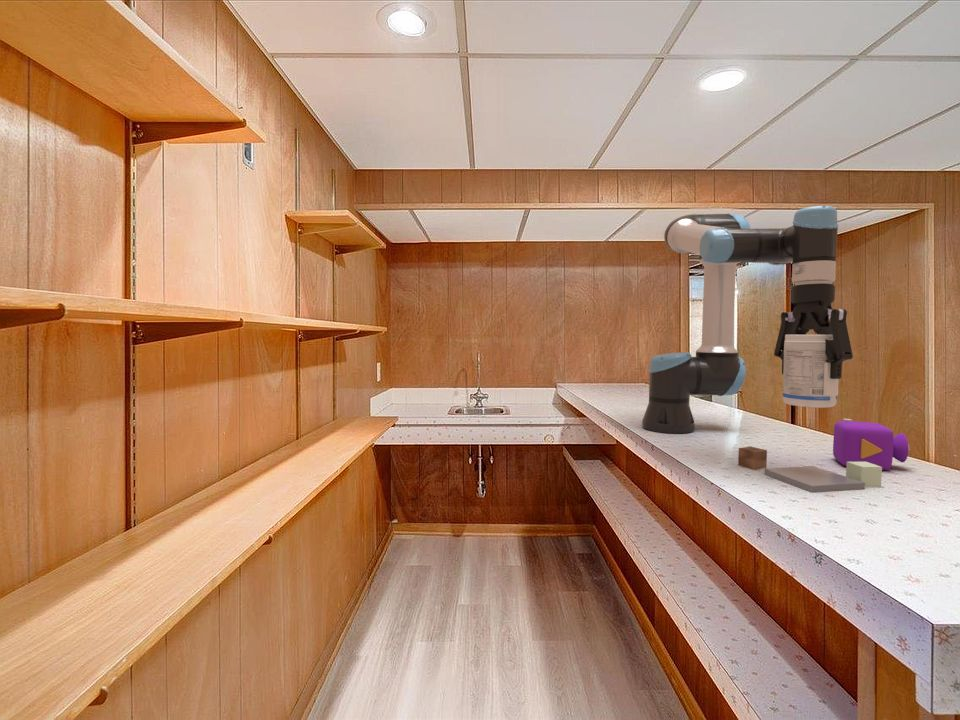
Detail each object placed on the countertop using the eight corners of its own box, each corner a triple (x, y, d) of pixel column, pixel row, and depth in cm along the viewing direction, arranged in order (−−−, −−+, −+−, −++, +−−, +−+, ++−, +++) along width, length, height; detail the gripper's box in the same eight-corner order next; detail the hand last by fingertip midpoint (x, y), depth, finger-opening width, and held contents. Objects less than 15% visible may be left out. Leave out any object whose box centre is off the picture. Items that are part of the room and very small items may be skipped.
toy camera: (919, 474, 108) (922, 428, 107) (847, 470, 111) (849, 425, 110) (889, 461, 119) (891, 419, 118) (824, 458, 121) (826, 416, 121)
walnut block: (738, 465, 114) (738, 448, 114) (749, 463, 116) (750, 446, 116) (754, 470, 111) (755, 452, 110) (766, 467, 112) (767, 450, 112)
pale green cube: (845, 480, 103) (846, 461, 103) (865, 480, 103) (866, 461, 103) (860, 487, 99) (861, 466, 99) (880, 487, 99) (882, 467, 99)
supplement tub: (796, 401, 112) (798, 334, 111) (845, 406, 104) (848, 334, 103) (772, 403, 106) (775, 334, 106) (822, 409, 98) (825, 334, 98)
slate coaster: (764, 474, 107) (764, 468, 107) (812, 471, 109) (812, 466, 109) (811, 492, 95) (811, 486, 95) (864, 488, 98) (864, 482, 98)
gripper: (757, 288, 114) (754, 387, 115) (846, 277, 92) (841, 399, 93) (786, 289, 115) (782, 387, 116) (880, 278, 94) (875, 398, 95)
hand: (809, 392), depth 105 cm, fingers closed on supplement tub, 9 cm apart
